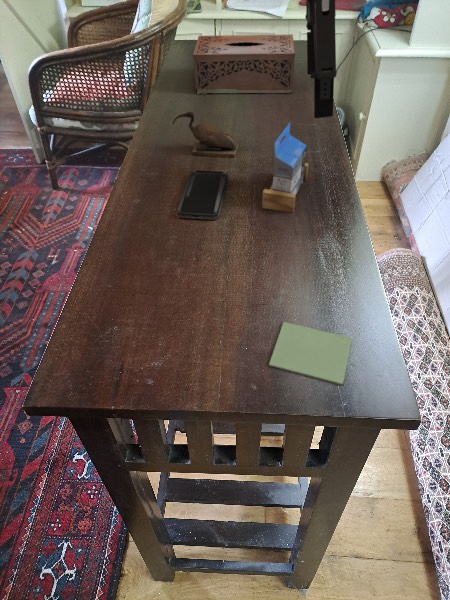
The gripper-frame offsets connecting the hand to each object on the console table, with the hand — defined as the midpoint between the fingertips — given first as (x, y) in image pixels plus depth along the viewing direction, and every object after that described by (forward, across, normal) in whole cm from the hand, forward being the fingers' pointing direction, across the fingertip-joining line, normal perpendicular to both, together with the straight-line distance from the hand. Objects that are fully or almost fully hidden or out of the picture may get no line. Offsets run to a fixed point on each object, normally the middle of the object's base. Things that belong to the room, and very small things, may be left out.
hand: (319, 93), depth 74 cm
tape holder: (+20, 0, -6) cm, 21 cm away
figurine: (+20, -17, -23) cm, 35 cm away
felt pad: (+16, +38, -4) cm, 42 cm away
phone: (+18, +1, -22) cm, 29 cm away
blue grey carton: (+20, 0, -6) cm, 21 cm away
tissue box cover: (+24, -54, -15) cm, 61 cm away
